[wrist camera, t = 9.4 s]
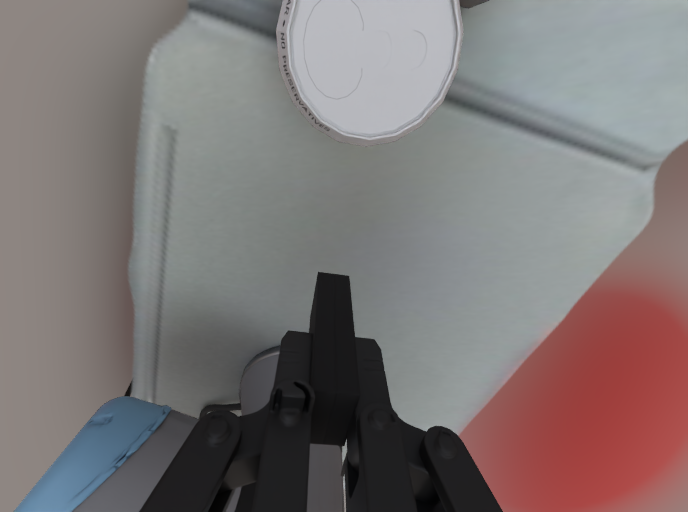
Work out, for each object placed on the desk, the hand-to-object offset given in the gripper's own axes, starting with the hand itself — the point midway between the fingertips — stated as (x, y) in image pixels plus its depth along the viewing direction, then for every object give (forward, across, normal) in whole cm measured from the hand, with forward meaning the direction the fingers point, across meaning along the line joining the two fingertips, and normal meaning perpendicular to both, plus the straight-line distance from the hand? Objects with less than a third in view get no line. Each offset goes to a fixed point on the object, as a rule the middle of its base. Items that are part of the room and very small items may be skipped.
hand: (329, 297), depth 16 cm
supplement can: (+18, 0, -11) cm, 21 cm away
